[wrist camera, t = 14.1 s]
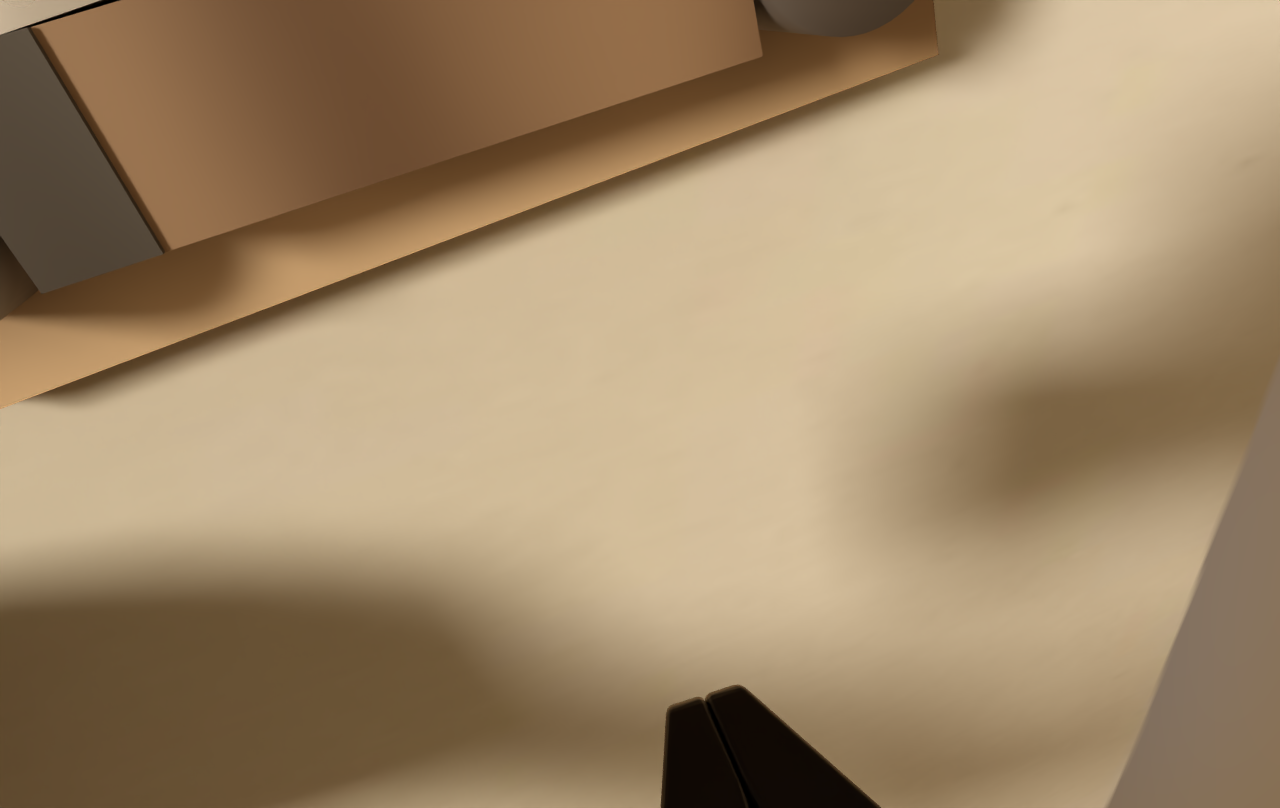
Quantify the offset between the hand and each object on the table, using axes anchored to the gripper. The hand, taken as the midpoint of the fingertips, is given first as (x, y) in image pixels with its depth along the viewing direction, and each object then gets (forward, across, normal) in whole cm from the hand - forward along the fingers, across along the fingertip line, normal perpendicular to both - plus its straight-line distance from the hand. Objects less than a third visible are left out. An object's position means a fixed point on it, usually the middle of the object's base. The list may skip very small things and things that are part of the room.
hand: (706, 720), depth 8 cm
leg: (+9, 0, -7) cm, 11 cm away
